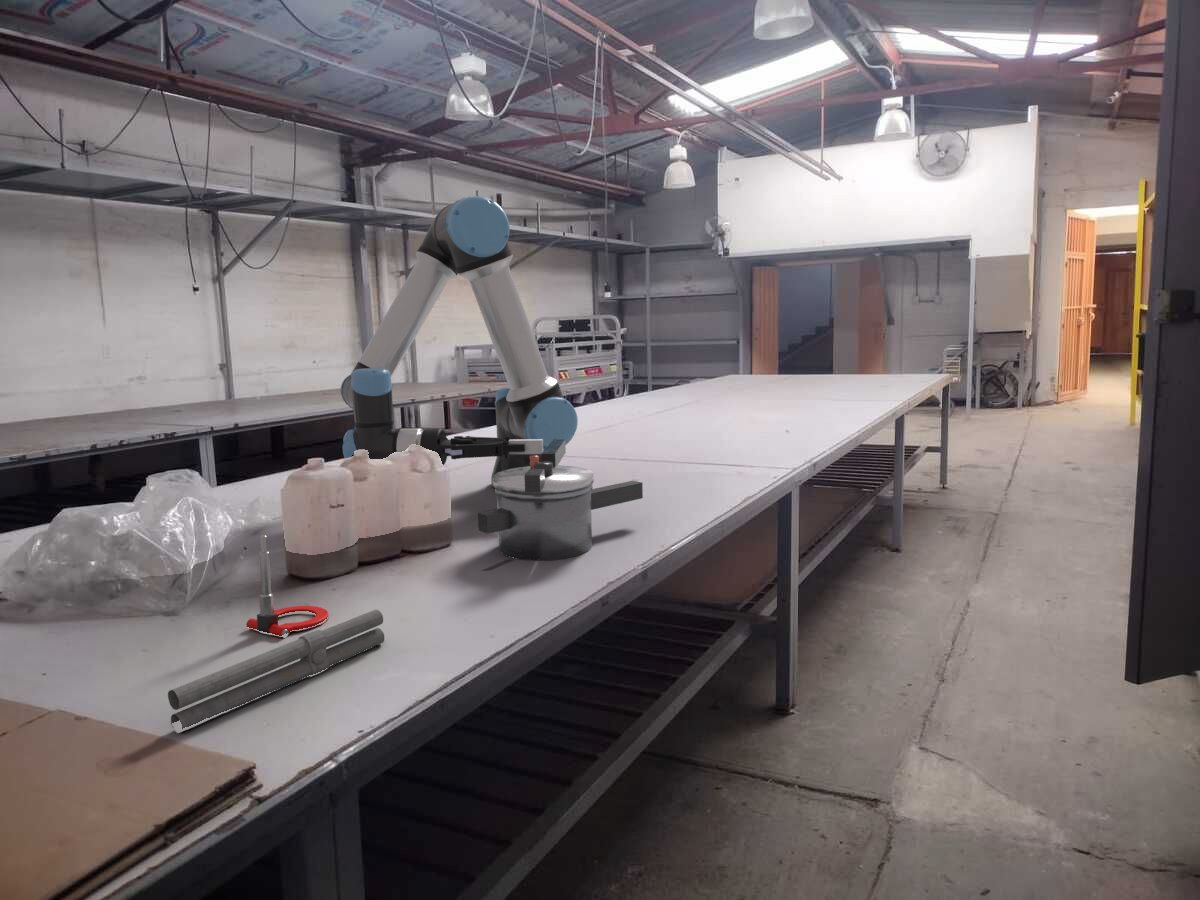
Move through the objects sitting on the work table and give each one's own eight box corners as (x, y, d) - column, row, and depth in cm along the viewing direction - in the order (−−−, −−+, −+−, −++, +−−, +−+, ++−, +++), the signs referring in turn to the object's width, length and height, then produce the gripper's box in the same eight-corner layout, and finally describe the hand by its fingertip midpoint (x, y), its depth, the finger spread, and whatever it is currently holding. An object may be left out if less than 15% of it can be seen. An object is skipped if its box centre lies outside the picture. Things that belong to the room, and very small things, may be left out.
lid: (587, 498, 125) (586, 473, 124) (478, 498, 126) (477, 474, 125) (602, 457, 159) (602, 437, 158) (517, 458, 160) (516, 438, 160)
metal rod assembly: (185, 739, 78) (179, 691, 77) (170, 732, 80) (164, 684, 79) (390, 646, 99) (387, 607, 98) (375, 641, 101) (372, 603, 100)
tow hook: (298, 609, 113) (241, 630, 105) (295, 519, 111) (235, 533, 103) (342, 620, 109) (285, 642, 101) (338, 526, 107) (280, 541, 99)
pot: (507, 521, 156) (505, 465, 154) (643, 521, 154) (642, 464, 152) (477, 563, 130) (474, 497, 128) (640, 564, 128) (639, 496, 126)
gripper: (434, 460, 166) (547, 459, 164) (415, 472, 153) (538, 472, 151) (432, 424, 165) (546, 422, 163) (412, 433, 152) (536, 432, 150)
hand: (542, 446), depth 157 cm, fingers closed
